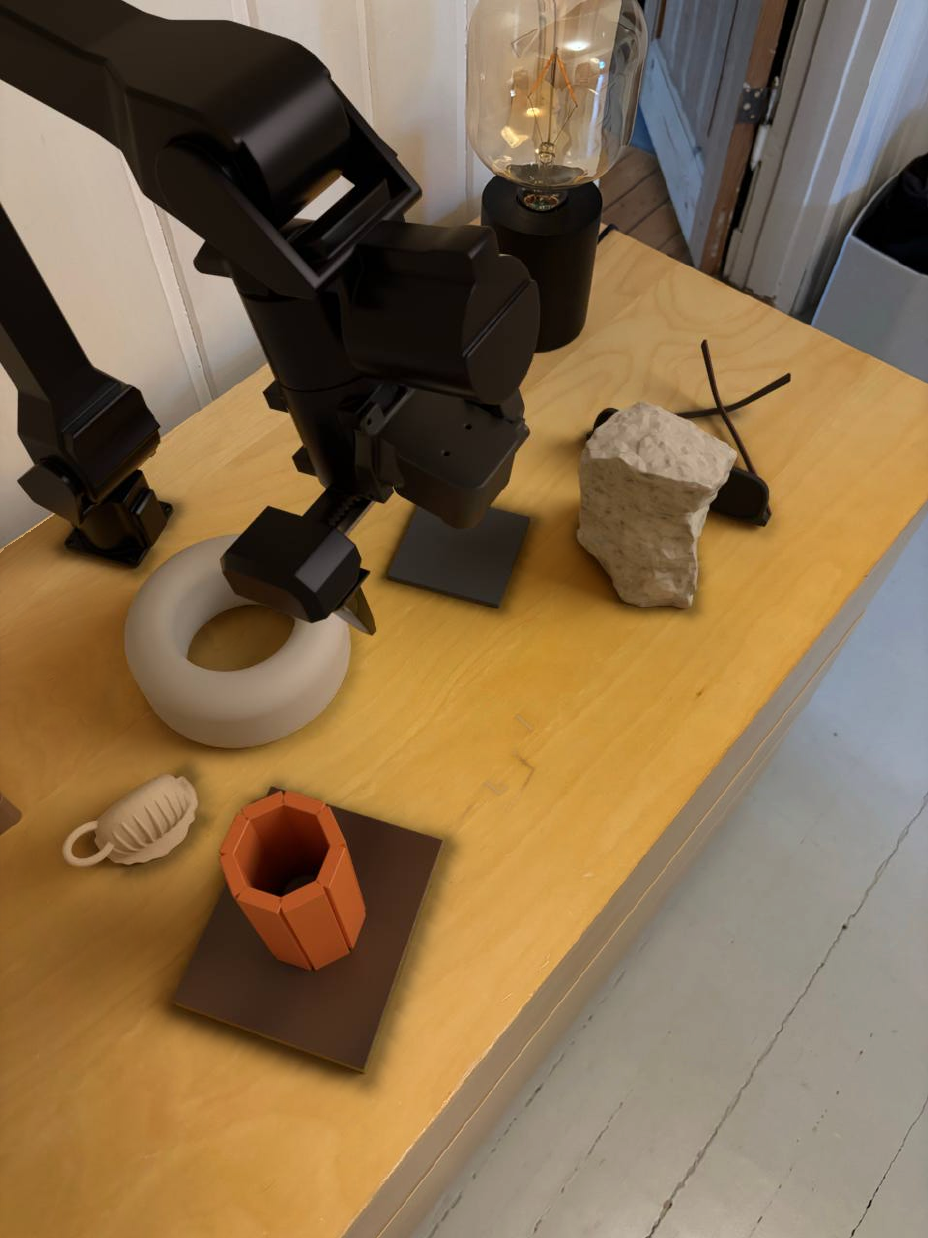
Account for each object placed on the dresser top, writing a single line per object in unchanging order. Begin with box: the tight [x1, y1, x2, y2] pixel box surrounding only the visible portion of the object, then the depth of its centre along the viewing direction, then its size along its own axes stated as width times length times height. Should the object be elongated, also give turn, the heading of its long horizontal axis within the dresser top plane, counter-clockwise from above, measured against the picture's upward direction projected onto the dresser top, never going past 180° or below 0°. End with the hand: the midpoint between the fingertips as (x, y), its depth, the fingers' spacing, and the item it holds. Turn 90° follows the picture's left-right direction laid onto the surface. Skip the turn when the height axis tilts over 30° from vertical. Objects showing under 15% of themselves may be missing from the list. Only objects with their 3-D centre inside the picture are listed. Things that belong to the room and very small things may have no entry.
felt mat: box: [386, 506, 531, 609], centre depth 74 cm, size 9×9×1 cm
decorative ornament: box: [61, 773, 199, 868], centre depth 59 cm, size 4×8×5 cm, turn 129°
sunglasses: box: [585, 339, 792, 528], centre depth 78 cm, size 17×14×5 cm
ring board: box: [171, 786, 445, 1075], centre depth 56 cm, size 12×14×6 cm
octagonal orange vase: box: [218, 790, 366, 971], centre depth 52 cm, size 6×6×12 cm
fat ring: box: [123, 533, 352, 749], centre depth 66 cm, size 15×15×7 cm
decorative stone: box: [575, 400, 738, 610], centre depth 68 cm, size 10×9×15 cm
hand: (411, 575), depth 56 cm, fingers open, 9 cm apart
